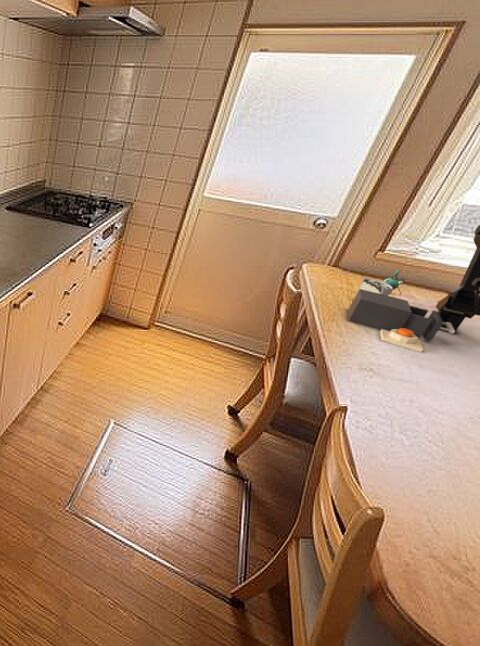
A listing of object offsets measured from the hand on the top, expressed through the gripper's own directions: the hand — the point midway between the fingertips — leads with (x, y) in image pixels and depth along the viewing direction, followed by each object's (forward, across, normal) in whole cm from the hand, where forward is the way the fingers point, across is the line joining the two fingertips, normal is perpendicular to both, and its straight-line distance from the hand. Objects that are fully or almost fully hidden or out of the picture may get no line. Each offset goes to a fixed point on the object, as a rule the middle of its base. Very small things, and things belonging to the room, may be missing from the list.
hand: (476, 314), depth 137 cm
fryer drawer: (+11, 0, +11) cm, 16 cm away
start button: (+9, -12, +15) cm, 21 cm away
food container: (+12, +17, +22) cm, 30 cm away
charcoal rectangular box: (+12, 0, +22) cm, 25 cm away
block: (+12, -12, +15) cm, 23 cm away
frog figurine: (+12, +30, +18) cm, 37 cm away
